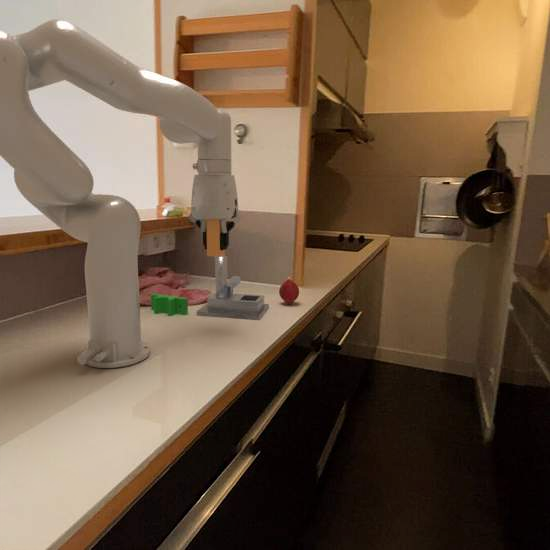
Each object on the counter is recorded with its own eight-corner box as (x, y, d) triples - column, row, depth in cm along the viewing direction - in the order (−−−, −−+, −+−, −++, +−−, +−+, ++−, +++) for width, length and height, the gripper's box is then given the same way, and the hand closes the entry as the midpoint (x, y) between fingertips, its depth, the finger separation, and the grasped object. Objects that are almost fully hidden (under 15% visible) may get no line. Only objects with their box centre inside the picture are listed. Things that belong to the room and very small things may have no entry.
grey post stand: (258, 319, 110) (259, 262, 107) (196, 315, 114) (195, 259, 111) (275, 299, 131) (275, 250, 128) (221, 295, 134) (221, 248, 131)
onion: (302, 303, 127) (303, 277, 125) (292, 307, 122) (292, 280, 120) (285, 300, 130) (286, 274, 128) (275, 304, 125) (275, 277, 124)
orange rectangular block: (219, 256, 100) (219, 213, 97) (207, 256, 100) (206, 213, 98) (224, 254, 103) (224, 212, 101) (212, 254, 103) (211, 212, 101)
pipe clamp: (145, 313, 116) (144, 296, 115) (154, 309, 119) (153, 293, 118) (179, 318, 111) (179, 301, 110) (188, 314, 115) (187, 297, 114)
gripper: (174, 168, 96) (176, 249, 100) (243, 168, 92) (244, 253, 96) (188, 169, 103) (190, 245, 107) (254, 169, 99) (254, 248, 103)
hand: (216, 248), depth 101 cm, fingers closed on orange rectangular block, 3 cm apart
